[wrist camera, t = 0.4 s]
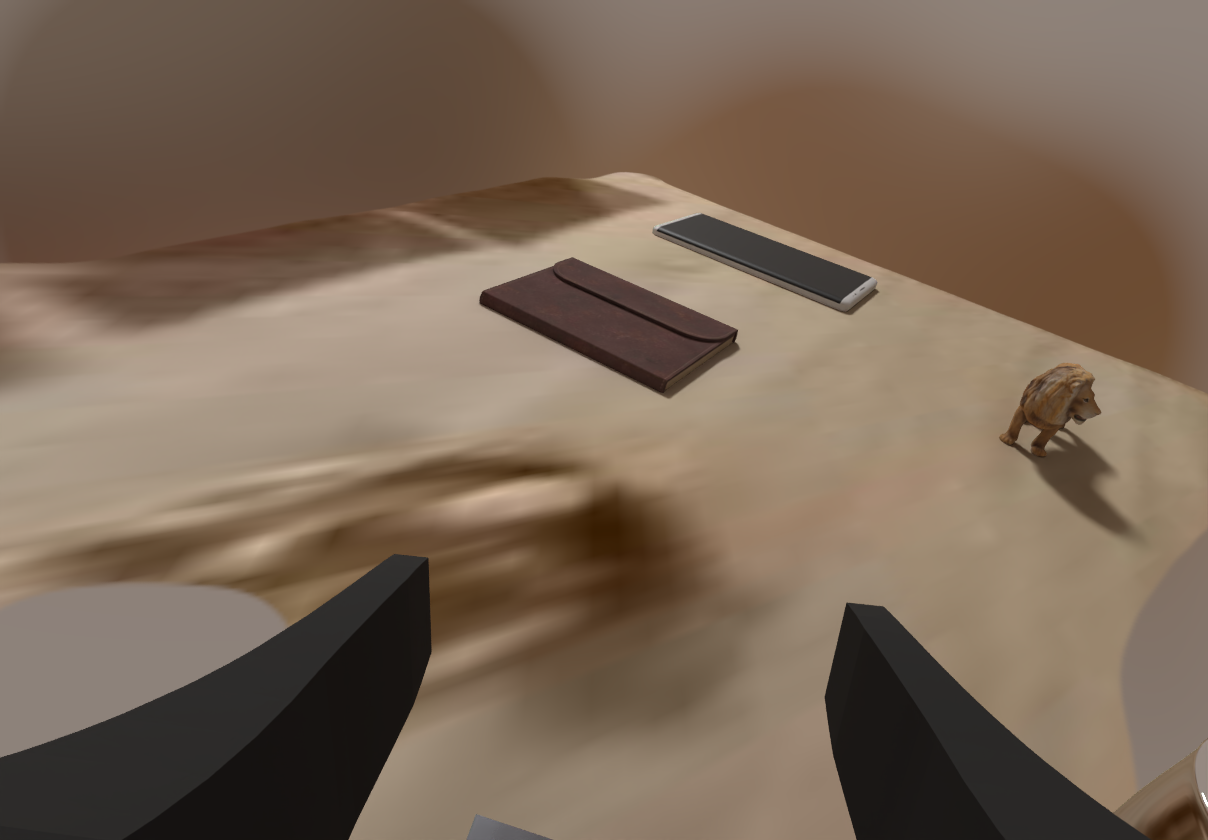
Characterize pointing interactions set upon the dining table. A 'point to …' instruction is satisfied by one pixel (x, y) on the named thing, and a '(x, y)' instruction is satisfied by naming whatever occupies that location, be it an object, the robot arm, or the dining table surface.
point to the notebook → (612, 321)
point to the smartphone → (769, 260)
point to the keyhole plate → (498, 831)
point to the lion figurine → (1054, 404)
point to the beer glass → (1173, 801)
